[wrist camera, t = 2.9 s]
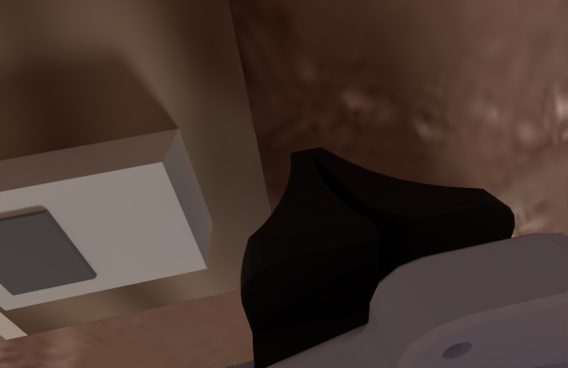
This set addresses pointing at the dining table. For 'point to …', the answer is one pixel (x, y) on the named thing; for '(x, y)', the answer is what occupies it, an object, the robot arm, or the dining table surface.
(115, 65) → the subfloor panel
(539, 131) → the dining table surface
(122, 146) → the block
